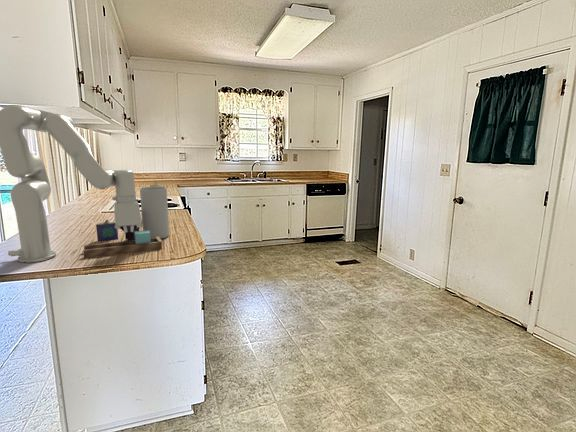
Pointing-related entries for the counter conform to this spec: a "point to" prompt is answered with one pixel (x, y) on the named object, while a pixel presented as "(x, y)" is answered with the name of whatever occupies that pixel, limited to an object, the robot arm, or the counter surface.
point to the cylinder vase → (155, 211)
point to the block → (142, 237)
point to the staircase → (156, 185)
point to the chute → (120, 248)
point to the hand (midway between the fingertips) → (129, 240)
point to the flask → (106, 231)
